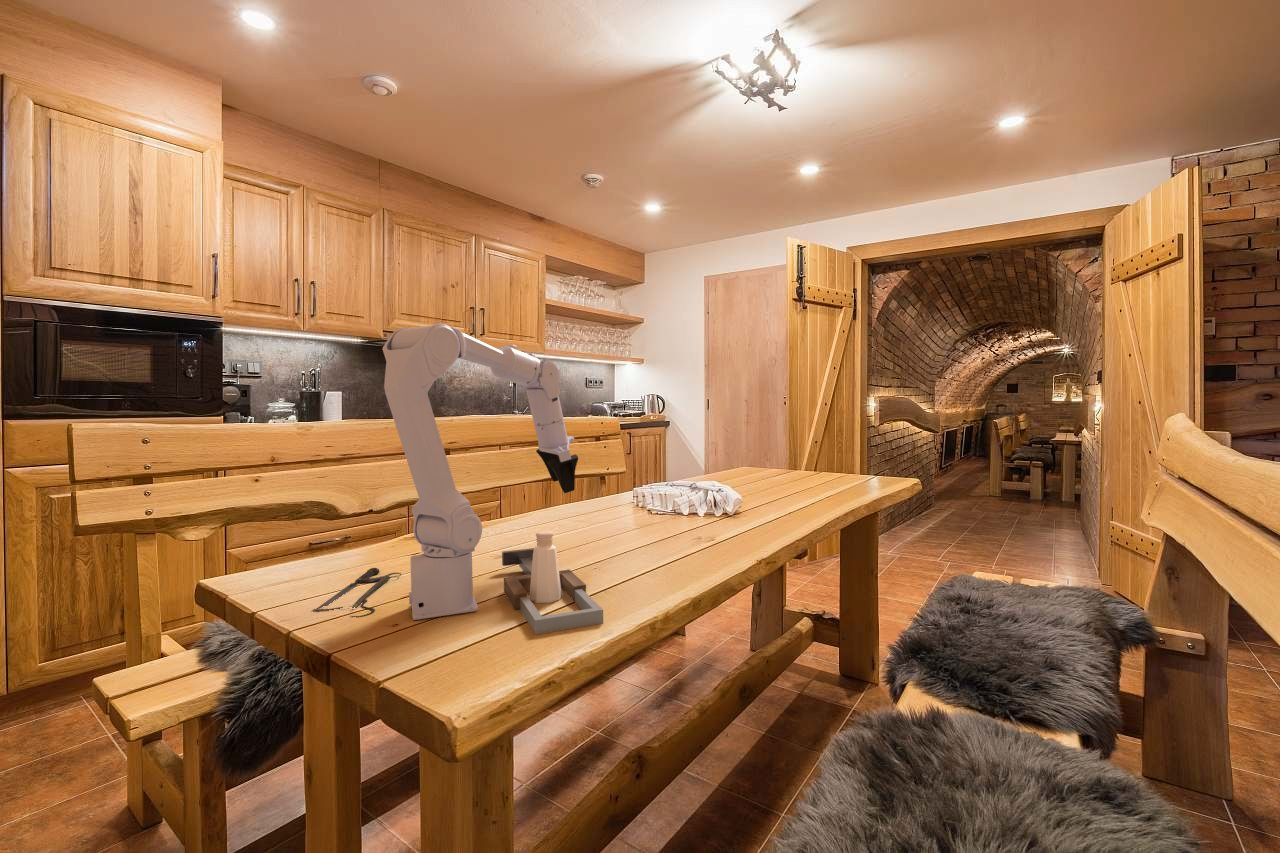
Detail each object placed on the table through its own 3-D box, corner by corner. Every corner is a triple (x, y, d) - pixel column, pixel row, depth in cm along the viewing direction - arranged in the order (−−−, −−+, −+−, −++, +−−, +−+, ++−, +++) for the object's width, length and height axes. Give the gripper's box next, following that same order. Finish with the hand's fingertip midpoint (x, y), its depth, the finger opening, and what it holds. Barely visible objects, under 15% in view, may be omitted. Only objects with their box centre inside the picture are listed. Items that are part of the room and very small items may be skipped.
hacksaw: (370, 573, 111) (370, 566, 111) (424, 573, 111) (423, 565, 111) (299, 620, 87) (299, 611, 86) (368, 619, 87) (368, 609, 87)
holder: (514, 610, 89) (514, 594, 89) (504, 592, 98) (503, 577, 98) (586, 599, 93) (586, 584, 93) (569, 583, 102) (569, 569, 102)
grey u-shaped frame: (535, 634, 79) (535, 620, 79) (520, 610, 89) (520, 597, 89) (603, 623, 83) (603, 609, 83) (581, 600, 93) (581, 588, 93)
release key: (516, 587, 97) (516, 570, 97) (502, 566, 110) (501, 551, 109) (562, 580, 100) (562, 565, 100) (543, 561, 113) (543, 547, 113)
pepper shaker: (522, 601, 93) (521, 534, 93) (541, 591, 98) (540, 527, 98) (550, 605, 91) (549, 536, 91) (568, 595, 96) (567, 529, 96)
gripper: (579, 422, 105) (594, 490, 109) (558, 408, 118) (571, 469, 121) (542, 433, 102) (558, 501, 106) (525, 417, 115) (539, 479, 119)
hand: (563, 485), depth 114 cm, fingers open, 7 cm apart
